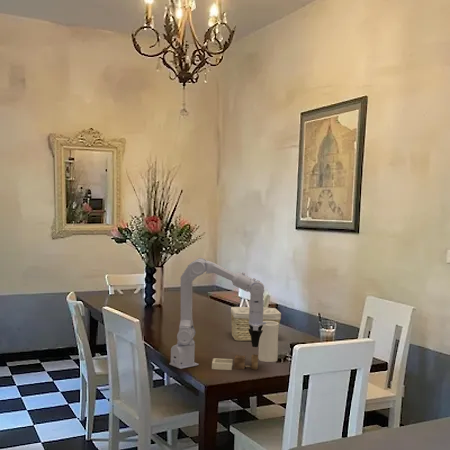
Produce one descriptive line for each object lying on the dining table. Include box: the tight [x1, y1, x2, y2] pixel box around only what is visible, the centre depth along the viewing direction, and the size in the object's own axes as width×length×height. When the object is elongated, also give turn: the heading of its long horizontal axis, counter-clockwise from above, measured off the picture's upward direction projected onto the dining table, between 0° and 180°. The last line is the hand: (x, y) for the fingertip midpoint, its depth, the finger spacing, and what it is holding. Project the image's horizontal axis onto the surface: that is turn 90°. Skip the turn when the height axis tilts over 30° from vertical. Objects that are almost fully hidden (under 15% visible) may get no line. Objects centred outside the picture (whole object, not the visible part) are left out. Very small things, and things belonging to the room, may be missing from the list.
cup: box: [258, 321, 280, 363], centre depth 231 cm, size 8×8×16 cm
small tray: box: [211, 357, 234, 371], centre depth 218 cm, size 8×7×2 cm
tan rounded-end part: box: [233, 353, 259, 371], centre depth 217 cm, size 9×4×6 cm, turn 82°
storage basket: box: [230, 306, 282, 342], centre depth 270 cm, size 24×16×15 cm
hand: (255, 344), depth 217 cm, fingers open, 7 cm apart
